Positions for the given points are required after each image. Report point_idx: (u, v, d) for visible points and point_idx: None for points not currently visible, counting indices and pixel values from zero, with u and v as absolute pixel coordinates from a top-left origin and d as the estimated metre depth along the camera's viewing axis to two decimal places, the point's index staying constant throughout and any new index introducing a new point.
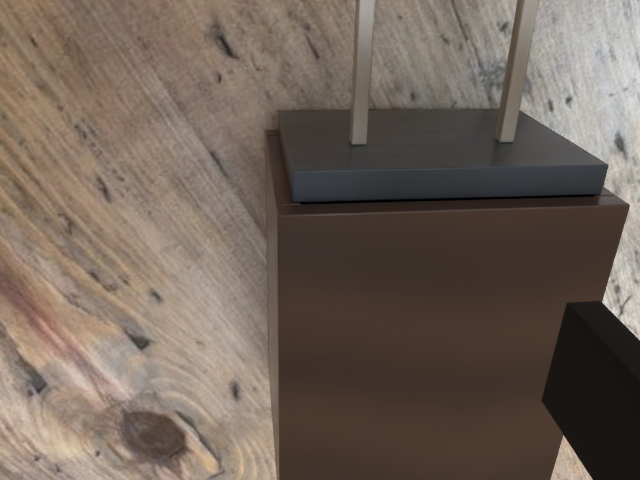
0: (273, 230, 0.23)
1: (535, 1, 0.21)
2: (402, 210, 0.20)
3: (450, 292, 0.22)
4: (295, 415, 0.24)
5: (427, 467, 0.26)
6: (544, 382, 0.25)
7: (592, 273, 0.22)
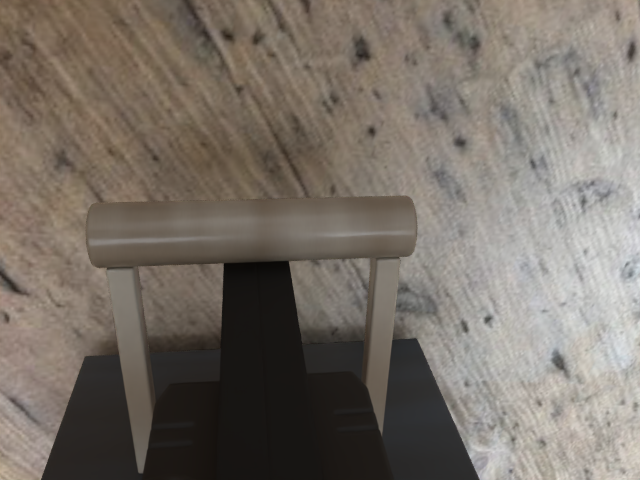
0: None
1: (390, 297, 0.14)
2: None
3: None
4: None
5: None
6: None
7: None
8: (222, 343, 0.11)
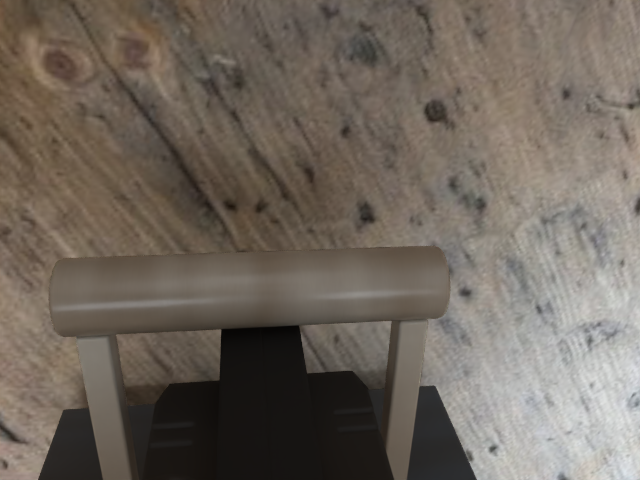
0: None
1: (415, 364, 0.12)
2: None
3: None
4: None
5: None
6: None
7: None
8: (222, 343, 0.11)
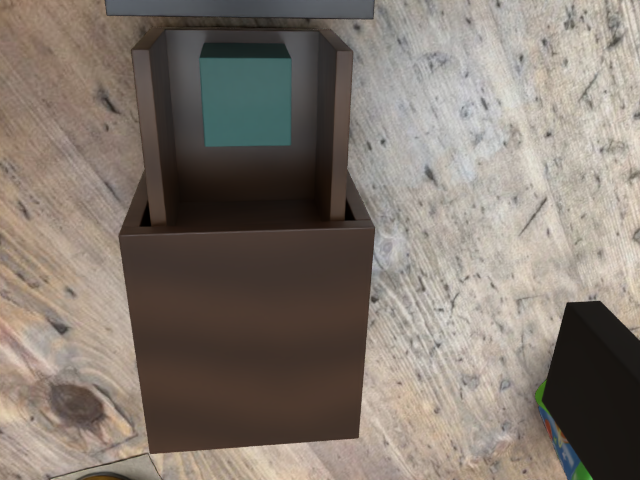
0: None
1: None
2: (208, 231, 0.29)
3: (253, 288, 0.31)
4: (151, 378, 0.33)
5: (259, 419, 0.35)
6: (338, 355, 0.34)
7: (357, 275, 0.31)
8: None
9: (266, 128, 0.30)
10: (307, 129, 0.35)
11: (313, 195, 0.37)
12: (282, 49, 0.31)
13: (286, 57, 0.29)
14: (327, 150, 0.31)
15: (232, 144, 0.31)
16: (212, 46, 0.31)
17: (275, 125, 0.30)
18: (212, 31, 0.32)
